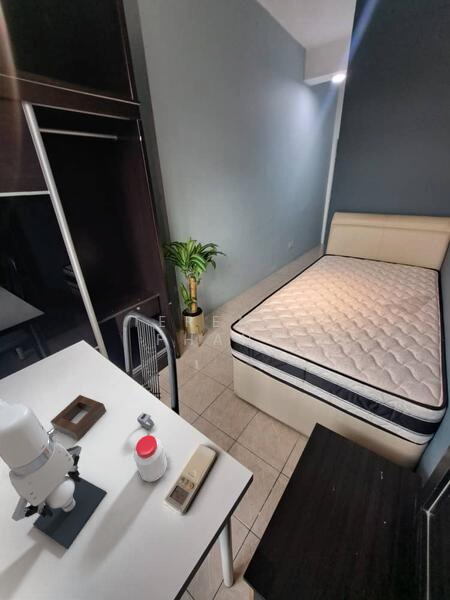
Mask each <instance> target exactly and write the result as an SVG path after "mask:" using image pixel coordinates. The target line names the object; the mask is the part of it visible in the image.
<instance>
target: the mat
mask: <svg viewBox="0 0 450 600" xmlns="http://www.w3.org/2000/svg"><path fill="white" fill-rule="evenodd" d="M79 477H80V476H79ZM80 479H81V481H80V482H76V481H74V480H73V481H74V485H75V488H74V493H73V498H74V500H75V502H76V503H75V506H74V508H73V509H72V510H71V511H69V512H65V511H64V510H63V509H62V508H56V509H51V508H49V509H50V510H51V511H52V513H53V515H52V517H49V516H48V515H46V516H45V517H44V518H43V517H42V516H40V515H39V516H38V517H37V518H36V519H35V521H34V522H33V523H32V525H33V526H34V528H37V529H38V530H39V531H41V532H42V533H44V534H46V535H47V536H48V537H50V538H51V539H53V540H54V541H55V542H57V543H58V544H59V545H61V546H63V547H64V548H65V549H67V550H69V549H70V548H71V546H72V544H73V543H74V542H75V540H76V539H77V537H78V536H79V534H80V533H81V532H82V530H83V528H85V526H86V524H87V523H88V521H89V520H90V519H91V517H92V516H93V514H94V513H95V511H96V510H97V509H98V507H99V505H100V504H101V503H102V501H103V500H104V498H105V497H106V495H107V494H108V492H107V491H106V490H105V489H103V488H101V487H99V486H98V485H96V484H93V483H92V482H90V481H88V480H86V479H84V478H83V477H80Z"/></svg>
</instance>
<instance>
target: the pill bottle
mask: <svg viewBox="0 0 450 600" xmlns="http://www.w3.org/2000/svg"><path fill="white" fill-rule="evenodd" d="M133 460H134V462H135V465H136V467H137V471H138V473H139V475H140V477H141V479H142V480H143V481H145V482H149V483H150V482H151V483H152V482H155V481H158V480H159V479H160V478H161V477H162V476H163V475H164V474H165V473H166V471H167V466H168V460H167V457H166V453H165V450H164V447H163V443H162V441H161V440H160V439H159V438H158V437H155V436H153V435H150V434H148V435H144V436H142V437H141V438H140V439H138V441H137V442H136V445H135V448H134V451H133Z"/></svg>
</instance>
